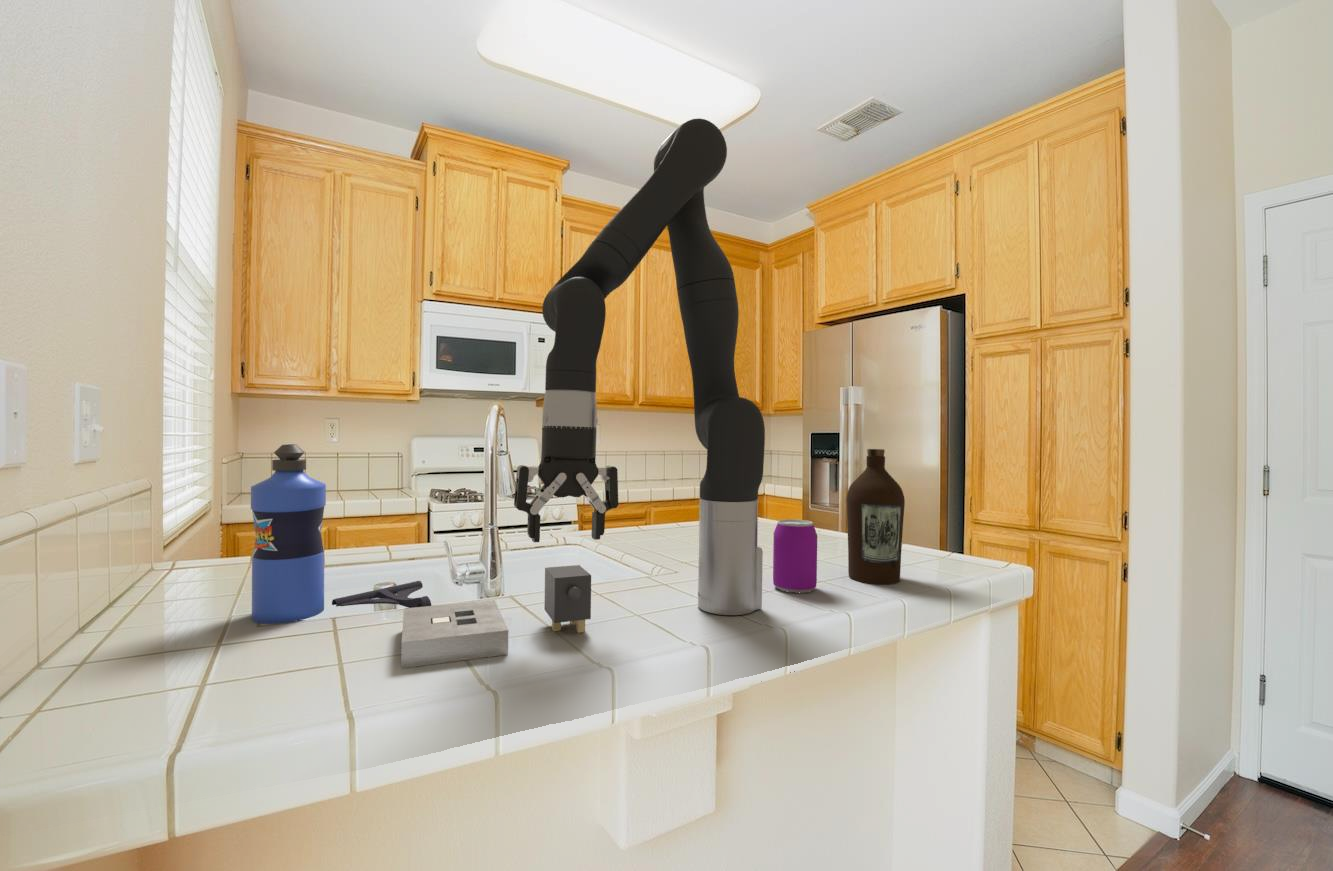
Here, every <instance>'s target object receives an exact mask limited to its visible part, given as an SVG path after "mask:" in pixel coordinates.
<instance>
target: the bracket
mask: <svg viewBox="0 0 1333 871" xmlns="http://www.w3.org/2000/svg"><path fill="white" fill-rule="evenodd" d="M423 587H424V586H423V582H422V581H421V580H416V581H412V582H407V583H404V584H403V583H402V584H398V585H393V586H389V587H388V586H387V587H384V588H379V589H374V590H370V591H366V592H365V591H364V592H360V593H356V594H351V595H347V596H342V597H337V598H334V599H332V600H331V605H332V606H335V608H338V607H347V606H358V605H375V604H379V605H380V604H385V605H388V604H389V605H399V606H402V607H405V608H414V607H425V606H433V605H432V602H431V599H430V598H429V597H428V595H425V596H419V597H413V598H412V597H409V596H410V595H411V594H412V593H414V592H416V591H419V590H421V589H422V588H423Z"/></svg>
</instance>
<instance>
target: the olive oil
mask: <svg viewBox="0 0 1333 871" xmlns="http://www.w3.org/2000/svg"><path fill="white" fill-rule="evenodd" d="M866 450H867V451H866V453H867V456H865V457H866V468H865V469H864V471H863V472H862V473H860V474H859V476H857V478H855V479H854V481H853V482H852V483H851V484H850V485H849V487H848V491H847V494H846V519H847V520H846V523H847V524H846V526H847V527H846V528H847V551H848V552H847V553H848V556H847V558H848V560H847V561H848V564H847V565H848V569H847V570H848V577H849V578H850V579H851V580H854V581H857V580H858V581H857V582H860V581H861V583H865V582H867V583H866V584H872V583H875V584H874V585H892V583H893V584H897V583H899V582H900V580H901V567H902V566H901V564H902V547H903V532H904V530H903V529H904V528H903V527H904V518H905V506H906V505H905V495H904V492H903V489H902V486H900V484H899V483H898V482H897V481H896V480H895V478H893V476H892V475H891V474H890V473H889V472H888V470H886V468H885V466H886V457H885V449H884V448H867V449H866Z"/></svg>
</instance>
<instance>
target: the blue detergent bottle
mask: <svg viewBox="0 0 1333 871" xmlns="http://www.w3.org/2000/svg"><path fill="white" fill-rule="evenodd" d="M273 453H274V455H275V456H276V457H277V458H279V459H277V458H276V459H272V464H271V465H272V466H271V467H272V468H271V469H272V470H271V471H274V473H273V474H272V475H271V476H270V477H268V478H266V479H264V480H262V481H260V482H258V483H255V484H254V485H251V486H250V510H251V511H252V518H253V526H254V527H253V528H254V534H255V539H254V545H253V552H252V557H251V620H252V621H253V622H254V623H255V622H256V623H258V624H268V625H269V624H270V625H272V624H274V625H275V624H285V623H292V622H298V621H302V620H306V619H309V618H313V617H316V616H318V615H319V614H321V613H323V611H324V610H325V550H324V549H325V548H324V543H323V537H322V527H323V520H324V511H325V506H326V505H327V504H326V503H327V501H326V500H327V498H326V496H327V491H326V490H327V484H326V483H325V482H323V481H319V480H317V479H315V478H313V477H310V476H309V475H308V474H307V473H306V472H305V471H306V470H307V459H305V458H301V457H302V456H303V455H304V454H305V453H306V452H305V451H304V450H303V449H302V448H301V447H300V445H298V444H286V443H285V444H284V443H283V444H281V446H279V447H278V448H277V449H276V450H275V451H274V452H273Z"/></svg>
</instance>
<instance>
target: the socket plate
mask: <svg viewBox="0 0 1333 871" xmlns="http://www.w3.org/2000/svg"><path fill="white" fill-rule="evenodd" d="M443 617H449V620H450V622H444V623H434V624H432V619H433V618H443ZM507 655H509V629H508V626H507V625H506V622H505V619H504V617H503V615H502V614H501V610H500V609H499V606H498V605H497V602H496V600H495V599H490V600H481V601H480V600H478V601H470V602H469V601H468V602H459V603H458V602H457V603H447V604H437V605H432V606H425V607H414V608H408V607H405V608H403V616H402V634H401V656H400V657H401V664H400V665H401V666H400V668H401V669H406V668H407V669H408V668H412V667H413V668H414V667H420V666H429V665H430V666H431V665H437V664H444V663H445V664H446V663H451V662H452V663H453V662H459V661H466V660H467V661H468V660H474V659H475V660H476V659H483V658H490V657H497V656H498V657H499V656H507Z"/></svg>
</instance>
